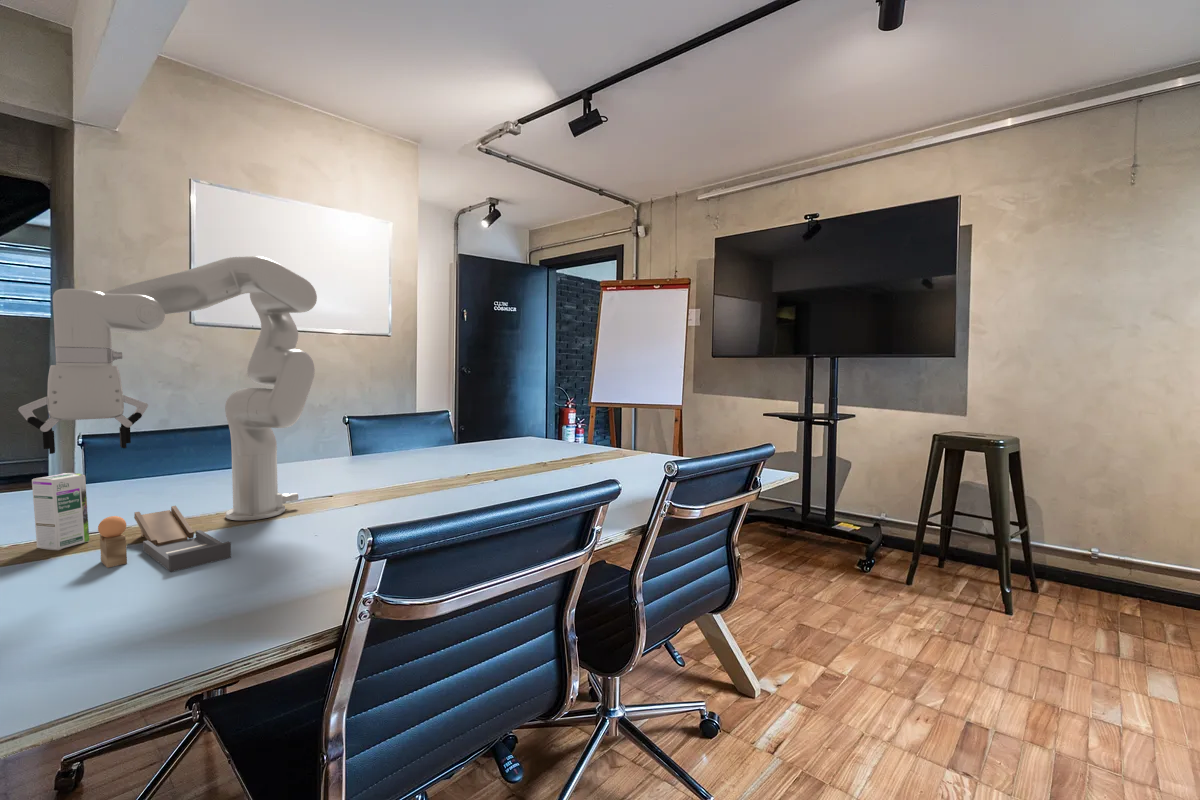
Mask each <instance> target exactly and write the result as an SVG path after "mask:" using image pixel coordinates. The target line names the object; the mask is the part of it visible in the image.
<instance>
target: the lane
mask: <svg viewBox="0 0 1200 800" xmlns="http://www.w3.org/2000/svg"><path fill="white" fill-rule="evenodd" d="M231 545H232V542H230V541H229V540H228V541H225V542H222V541H220V540H218V539H217V538H215V537H213V536H211V535H210V534H208V533H206V532H205V531H203V530H201V529H198V530H197V529H196V530H195V537H194V538H190V539H189V538H188V540H183V541H178V542H174V543H169V544H164V545H159V546H157V545H156V546H155V545H154V544H153V543H151V542H150V541H148V540H147V539H146V540H143V541H142V546H143V547H142V549H143V550H142V551H143V552H144V553H145V554H147V555H148V556H149V557H150V558H152V559H153V560H154V561H156V562H158V563H159V564H160V565H161V566H162V567H163V568H165V569H166V570H167V571H169V572H170V573H172V572H173V573H174V572H177V571H181V570H185V569H189V568H193V567H198V566H202V565H205V564H209V563H213V562H218V561H223V560H226V559H230V558H232V548H231Z"/></svg>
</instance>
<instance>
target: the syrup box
mask: <svg viewBox="0 0 1200 800" xmlns="http://www.w3.org/2000/svg"><path fill="white" fill-rule="evenodd" d="M86 483H87V482H86V474H83V473H80V472H79V473H76V472H67V473H66V472H63V473H59V474H53V475H49V476H42V477H36V478H33V479H31V486H32V487H31V488H32V500H33V512H34V524H35V525H34V526H35V540H36V548H38V549H43V550H50V551H60V550H63V549H67V548H71V547H74V546H77V545H80V544H84V543H87V542H88V543H89V542H90V529H89V517H88V497H87V484H86Z"/></svg>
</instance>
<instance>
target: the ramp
mask: <svg viewBox="0 0 1200 800" xmlns="http://www.w3.org/2000/svg"><path fill="white" fill-rule="evenodd" d="M133 516H134V517H133V518H134V520H135V522H136V523H137V525H138V527H139V529H140V537H142V538H145V539H146V541H147V540H148V541H150V542H151V543H153V544H154V545H155V546H159V545H164V544H169V543H174V542H178V541H183V540H188V539H192V538H195V537H194V534H195V531H194V530H193V528H192V527H191V526H190V524H189V523H188V521H187V520H186V518H185V517H184V515H183V514H182V512H181V511H180V509H179V508H178V507H177V506H176V505H171V508H170V509H168V510H167V509H166V510H162V511H155V512H151V513H144V514H141V511H135V512H134V515H133Z"/></svg>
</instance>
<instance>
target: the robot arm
mask: <svg viewBox="0 0 1200 800" xmlns="http://www.w3.org/2000/svg"><path fill="white" fill-rule="evenodd" d="M246 294H249V298H250V302H251V305H252V306H253V307H254V309H255V312H256V313H257V315H258V317H259V320H260V333H259V336H258V338H257V341H256V344H255V345H254V348H253V351H252V353H251V356H250V359H249V361H248V365H247V371H246V372H247V373H246V374H247V377H248V379H249V380H250V381H252V382H253V383H254V384H257V385H260V386H268V387H269V386H270V387H272V388H266V387H264V388H261V387H245V388H240V389H237V390H236V391H234V392H232V393H231V394H230V395H229V396H228V398H227V399H226V401H225V405H224V412H225V417H226V421H227V424H228V428H229V432H230V435H229V436H230V444H231V447H230V448H231V449H230V450H231V476H232V477H231V478H232V482H231V483H232V484H231V485H232V506H233V507H232V508H230V509H228V510H227V511H226V512H225V518H226V519H227V520H230V521H231V520H232V521H255V520H263V519H267V518H273V517H276V516H279V515H282V514H283V513H284V512H285V511H286V505H285V504H286V502H294V501H298V500H299V493H297V492H293V493H290V494H289V493H281V492H278V491H279V489H278V485H279V483H278V454H277V453H278V452H277V451H278V446H277V444H278V443H277V439H276V435H275V433H274V431H273V428H274V429H285V428H289V427H290V428H291V427H292V426H294V425H295V424H296V423H297V422H298V420H299V419H300V417H301V415H302V413H303V411H304V407H305V405H306V402H307V399H308V396H309V394H310V390H311V388H312V385H313V382H314V377H315V371H316V370H315V364H314V360H313V359H312V357H311V355H310V354H309V353H307V352H306V351H305V350H302V349H296V347H297V344H298V340H299V330H298V328H297V325H296V322H295V321H294V319H293V317H292V315H291V313H292V314H293V313H297V314H298V313H299V314H301V313H302V314H303V313H306V312H307V313H308V312H309V311H311V310H312V309H313V308H314V307H315V305H316V304H317V300H318V296H317V291H316V289H315V288H314V285H312V283H311V282H310V281H309V280H307V279H306V278H305V277H303V276H301V275H299V274H298V273H296V272H295V271H292V270H290V269H289V268H287V267H286V266H283V265H282V264H280V263H278V262H276V261H274V260H272V259H270V258H268V257H264V256H261V255H253V256H232V257H231V256H230V257H226V258H222V259H219V260H216V261H212V262H210V263H206V264H203V265H200V266H196V267H193V268H190V269H187V270H184V271H183V270H182V271H180V272H175V273H172V274H167V275H163V276H160V277H155V278H152V279H147V280H143V281H138V282H135V283H130V284H127V285H122V286H120V287H116V288H113V289H109V290H106V291H103V292H102V291H99V290H98V291H97V290H93V289H92V290H91V289H83V288H60V289H56V290H55V291H54V292H53V295H52V305H53V306H52V309H53V310H52V311H53V328H54V347H55V364H51V365H50V366H49V371H48V376H47V396H44V397H42V398H39V399H37V400H36V399H35V400H34V401H31V402H29V403H27V404H24V405H21V406H19V407H18V410H17V411H18V412H19V413H20V415H21V416H22V417H23V418H24V419H25V420H26V422H27V423H28V424H30V425H32V426H33V427H34V428H37V429H38V430H40V431H41V432H42V441H43V443H42V444H43V446H42V447H43V450H48V451H49V455H53V454H56V444H55V430H53V428H54V426H55V425H57V423H59V422H60V421H81V420H100V419H101V420H103V419H115V420H117V421H118V423H120V426H119V428H118V429H119V445H120V448H121V449H127V444H131V443H132V440H131V427H132V426H133V425H134V424H135V423H136V422H138V421H139V420H140V419H141V418H142V417H143V416H144V414H145V412H146V410H147V408H148V407H149V404H148V403H147V402H145V401H141V400H138V399H136V398H133V397H130V396H128V395H125V394H124V392H123V385H122V380H121V374H120V370H119V368H118V365H113V361H117V360H123V352H119V351H115V350H113V348H112V345H113V344H112V333H130V334H131V333H133V334H134V333H135V334H136V333H138V334H139V333H148V332H152V331H154V330H156V329H158V328H160V327H161V325H162V324H163V323H164V322H165V317H166V315H168V314H169V315H171V314H178V313H179V314H180V313H188V312H189V313H190V312H195V311H199V310H204V309H207V308H211V307H212V306H214V305H217V304H221V303H223V302H225V301H228V300H231V299H234V298H236V297H238V296H241V295H246ZM125 404H127V405H130V406H134V407H136V409H135V411H134V412H133V413H132V414H131V415H130V416H129V417H126V416H124V415H123V414H124V410H125V407H124V406H125ZM46 405H47V413H48V415H49V417H48V418H47V419H46V420H45V421H44V420H42V419H40V418H38V417H37V416H36V415H35V414H34V412H33V411H34V410H36V409H40V408H42V407H44V406H46Z"/></svg>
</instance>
